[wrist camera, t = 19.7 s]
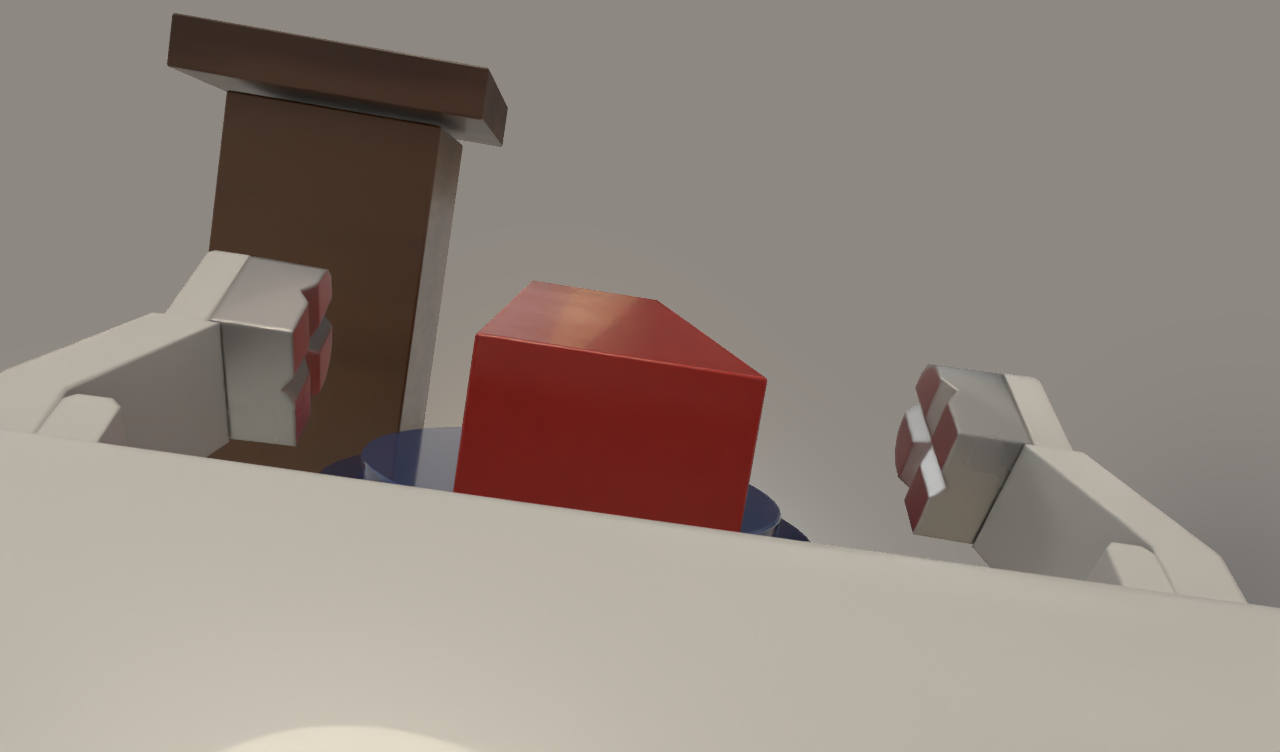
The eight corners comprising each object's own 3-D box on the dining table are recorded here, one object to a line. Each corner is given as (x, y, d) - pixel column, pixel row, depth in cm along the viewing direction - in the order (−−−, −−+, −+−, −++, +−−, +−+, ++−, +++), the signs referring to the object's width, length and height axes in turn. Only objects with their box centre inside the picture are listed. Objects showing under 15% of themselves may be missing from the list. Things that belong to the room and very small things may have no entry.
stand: (367, 925, 34) (489, 67, 31) (77, 894, 33) (171, 12, 30) (410, 783, 43) (507, 106, 40) (182, 755, 42) (263, 64, 39)
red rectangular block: (721, 644, 16) (768, 378, 15) (435, 606, 15) (475, 332, 15) (639, 418, 35) (658, 300, 35) (514, 400, 35) (532, 280, 35)
